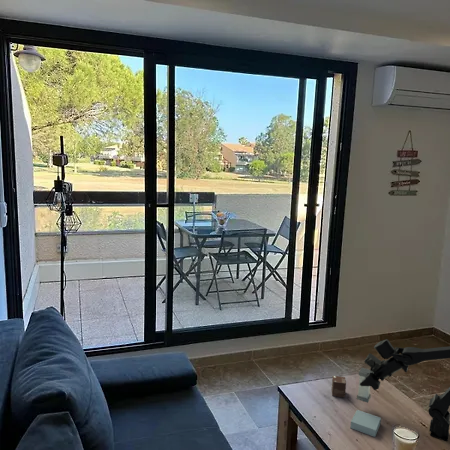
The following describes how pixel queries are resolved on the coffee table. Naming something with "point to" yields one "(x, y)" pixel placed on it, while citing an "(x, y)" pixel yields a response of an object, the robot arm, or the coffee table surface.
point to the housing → (364, 390)
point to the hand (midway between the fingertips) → (361, 382)
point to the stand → (365, 423)
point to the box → (338, 386)
